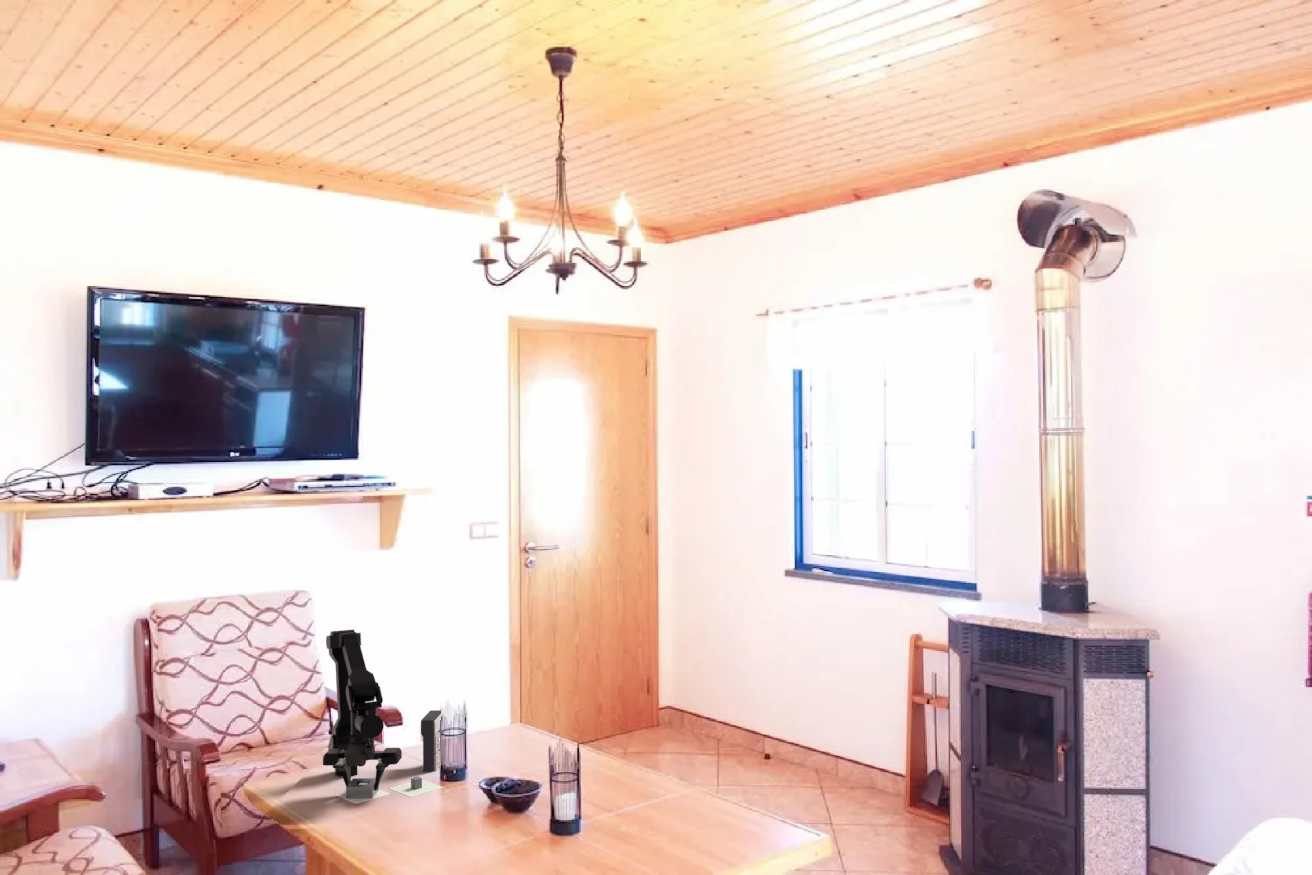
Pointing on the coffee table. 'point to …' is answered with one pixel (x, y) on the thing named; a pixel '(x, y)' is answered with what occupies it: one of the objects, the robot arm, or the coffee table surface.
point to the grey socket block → (361, 789)
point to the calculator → (431, 740)
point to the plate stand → (355, 801)
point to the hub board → (416, 792)
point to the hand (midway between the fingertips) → (362, 790)
